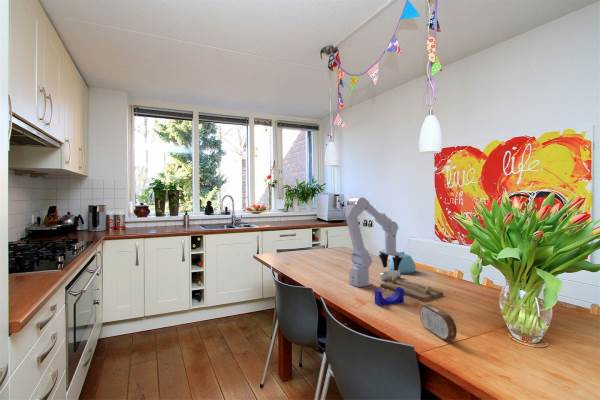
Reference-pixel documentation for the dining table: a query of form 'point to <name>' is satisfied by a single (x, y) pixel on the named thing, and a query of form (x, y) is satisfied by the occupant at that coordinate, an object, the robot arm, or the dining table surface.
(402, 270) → the sugar bowl
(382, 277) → the silver cylinder
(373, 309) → the dining table surface
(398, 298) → the cable clip
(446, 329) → the speaker
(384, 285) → the peg rack
